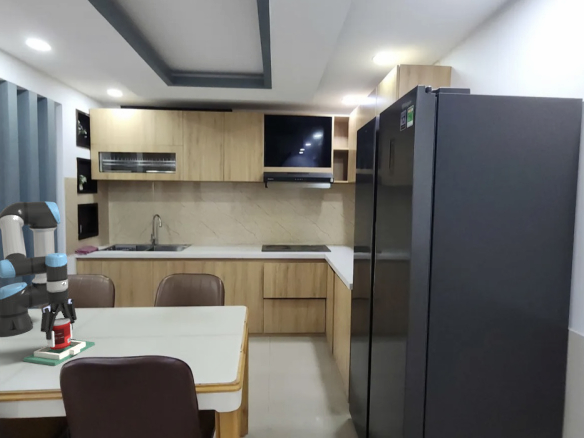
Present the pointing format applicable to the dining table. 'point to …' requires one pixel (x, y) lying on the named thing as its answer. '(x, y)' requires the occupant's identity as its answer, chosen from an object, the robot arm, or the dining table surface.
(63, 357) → the board
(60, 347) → the canned food
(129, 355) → the dining table surface
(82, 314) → the dining table surface
